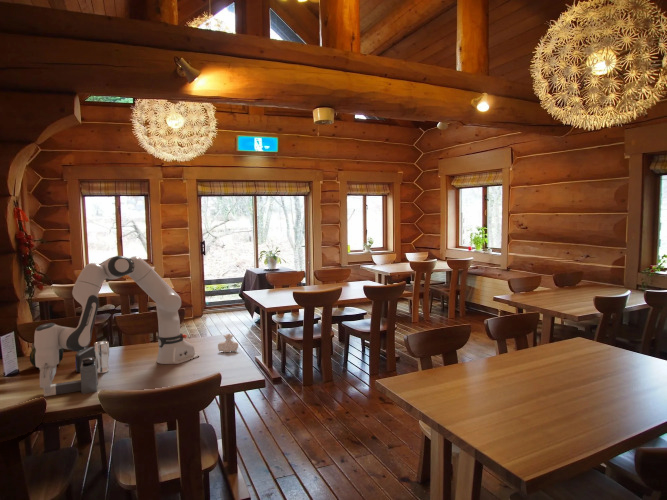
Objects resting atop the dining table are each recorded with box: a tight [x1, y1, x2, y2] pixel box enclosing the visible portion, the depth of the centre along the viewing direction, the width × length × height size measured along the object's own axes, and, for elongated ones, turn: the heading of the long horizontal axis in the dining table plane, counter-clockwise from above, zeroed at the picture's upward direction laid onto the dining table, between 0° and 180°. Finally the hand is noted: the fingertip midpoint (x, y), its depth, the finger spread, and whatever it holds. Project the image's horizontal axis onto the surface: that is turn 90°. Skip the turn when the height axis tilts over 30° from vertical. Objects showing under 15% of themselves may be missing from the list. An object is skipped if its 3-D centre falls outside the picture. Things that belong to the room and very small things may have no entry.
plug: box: [42, 379, 81, 397], centre depth 195 cm, size 18×3×4 cm, turn 116°
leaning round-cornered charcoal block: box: [74, 346, 95, 373], centre depth 226 cm, size 16×5×9 cm, turn 2°
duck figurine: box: [217, 333, 239, 353], centre depth 254 cm, size 12×8×11 cm
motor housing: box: [79, 357, 99, 395], centre depth 199 cm, size 6×11×14 cm, turn 26°
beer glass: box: [93, 340, 110, 374], centre depth 221 cm, size 7×7×15 cm
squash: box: [29, 346, 64, 368], centre depth 231 cm, size 14×15×15 cm
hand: (48, 390), depth 192 cm, fingers closed on plug, 3 cm apart
